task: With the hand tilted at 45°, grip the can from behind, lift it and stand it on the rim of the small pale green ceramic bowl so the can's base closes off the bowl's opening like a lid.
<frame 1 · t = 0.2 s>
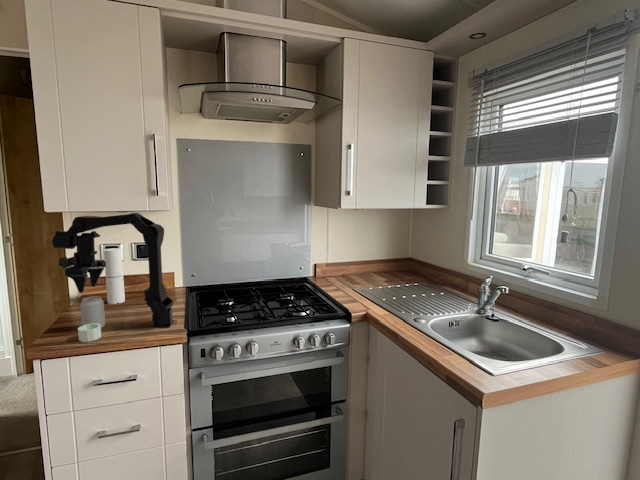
hand: (87, 289, 139), 15 cm above the table, tool pointing down, fingers open, 9 cm apart
cylindrical container: (116, 302, 171), on the table
can: (94, 328, 139), on the table
bowl: (90, 337, 130), on the table
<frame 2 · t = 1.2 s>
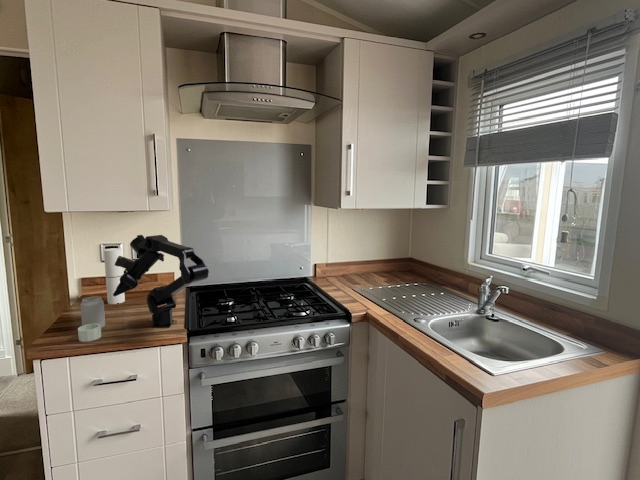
hand: (115, 292, 140), 13 cm above the table, tool tilted 45°, fingers open, 9 cm apart
nothing on the table moved.
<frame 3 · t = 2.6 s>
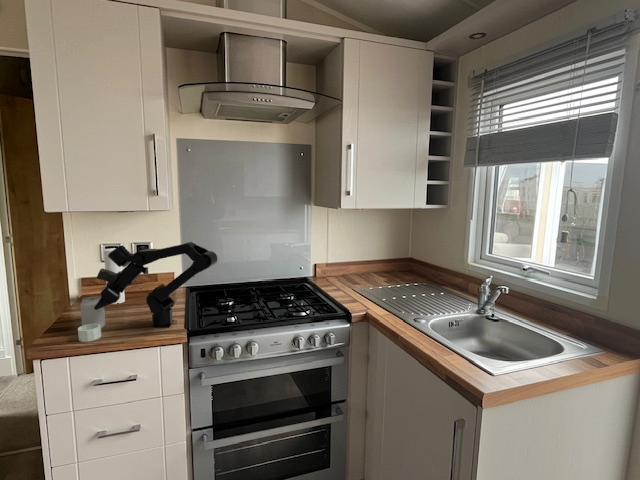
hand: (97, 305, 138), 9 cm above the table, tool tilted 45°, fingers open, 9 cm apart
nothing on the table moved.
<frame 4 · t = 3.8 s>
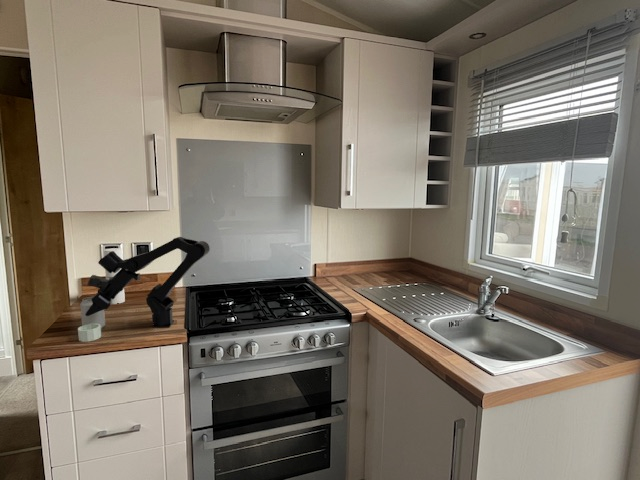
hand: (88, 312, 137), 7 cm above the table, tool tilted 45°, fingers closed on can, 7 cm apart
can: (94, 328, 139), on the table, touching gripper
everything else where it was.
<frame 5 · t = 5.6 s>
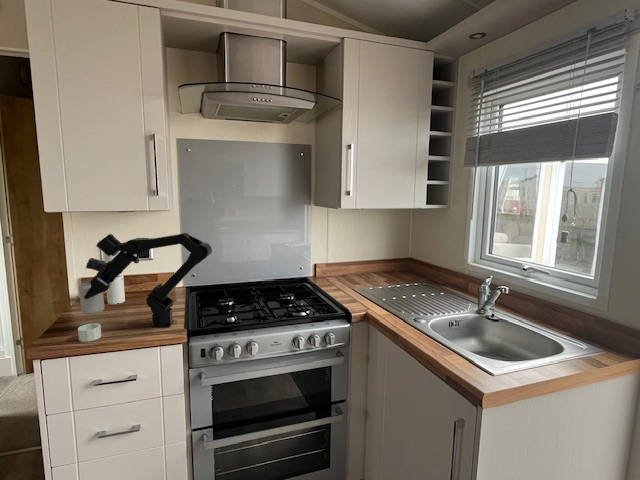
hand: (87, 295, 136), 13 cm above the table, tool tilted 45°, fingers closed on can, 7 cm apart
can: (93, 312, 138), point 6 cm above the table, touching gripper
everything else where it was.
when the fingers open (12 cm above the table, at t = 7.3 s): can stays where it is, resting on bowl.
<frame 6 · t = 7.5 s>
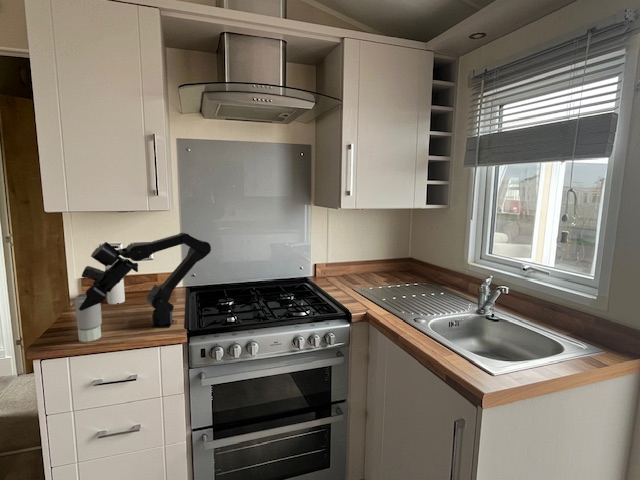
hand: (82, 305, 128), 12 cm above the table, tool tilted 45°, fingers open, 9 cm apart
can: (89, 327, 130), point 4 cm above the table, touching bowl
everything else where it was.
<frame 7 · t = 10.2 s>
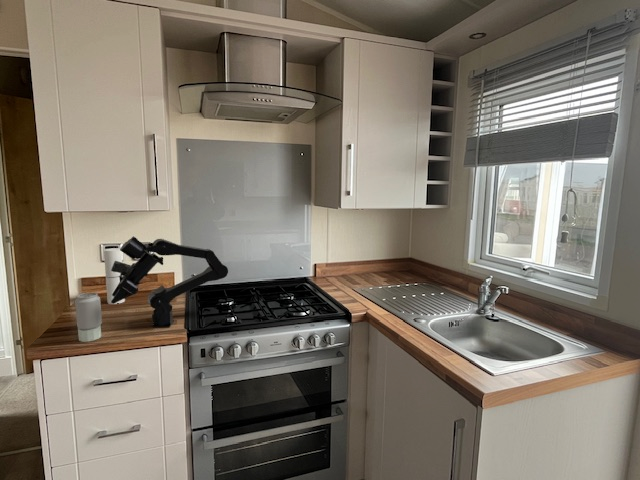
hand: (112, 299, 134), 13 cm above the table, tool tilted 45°, fingers open, 9 cm apart
nothing on the table moved.
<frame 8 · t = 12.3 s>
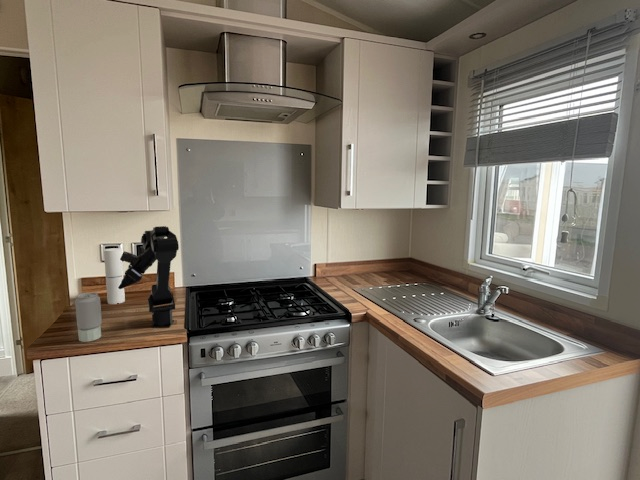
hand: (120, 285, 149), 14 cm above the table, tool tilted 45°, fingers open, 9 cm apart
nothing on the table moved.
at the end: can 0.2 cm off-centre on the bowl, point 3.8 cm above the bowl's base; can tilted 0°; the gripper is holding nothing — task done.
